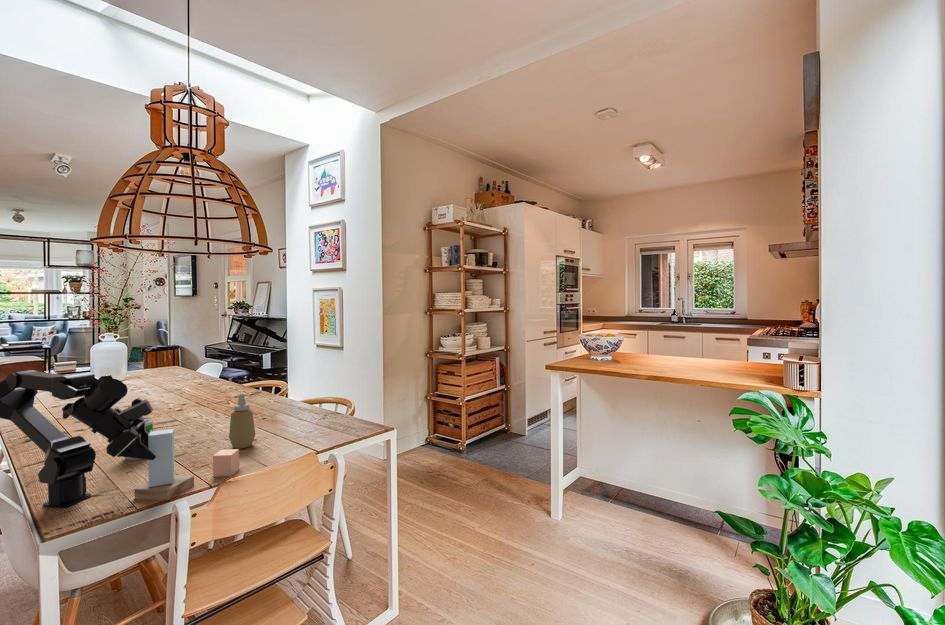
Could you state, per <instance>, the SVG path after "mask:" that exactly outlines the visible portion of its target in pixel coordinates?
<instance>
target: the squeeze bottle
mask: <svg viewBox="0 0 945 625" xmlns="http://www.w3.org/2000/svg"><path fill="white" fill-rule="evenodd" d="M237 401H238V402H237V404H234V406H233V409H234V411H232V412H231V413H230V424H229V432H228V433H229V434H228V438H229V441H230V443H231V446H232V448H233V449H239V450H240V449H246V448H249V447H251V446H253V442H254V441H255V437H256V428H255V421H254V413H253V410H252V409H251V408H250V403H247V402H246V399H245V394H244V393H240V394H239V396H238V400H237Z"/></svg>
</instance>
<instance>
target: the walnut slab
mask: <svg viewBox="0 0 945 625" xmlns="http://www.w3.org/2000/svg"><path fill="white" fill-rule="evenodd" d="M194 486H195V475H179V474H178V475H177V474H174V480H173V483H171V484H165V485H160V486H154V487H149V481H148V482H145V483H144V484H142V485H139V486H138V487H135V488H134V489H133V490H134V491H133V492H134V499H135V500H150V501H151V500H152V501H153V500H155V501H156V500H157V501H168V500H169V501H170V500H171V499H172V498H174V497H176V496H177V494H178V495H179V494H181V493H183V492H184V491H185V492H186V490H188V489H189V488H192V487H194ZM175 495H176V496H175Z"/></svg>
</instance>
